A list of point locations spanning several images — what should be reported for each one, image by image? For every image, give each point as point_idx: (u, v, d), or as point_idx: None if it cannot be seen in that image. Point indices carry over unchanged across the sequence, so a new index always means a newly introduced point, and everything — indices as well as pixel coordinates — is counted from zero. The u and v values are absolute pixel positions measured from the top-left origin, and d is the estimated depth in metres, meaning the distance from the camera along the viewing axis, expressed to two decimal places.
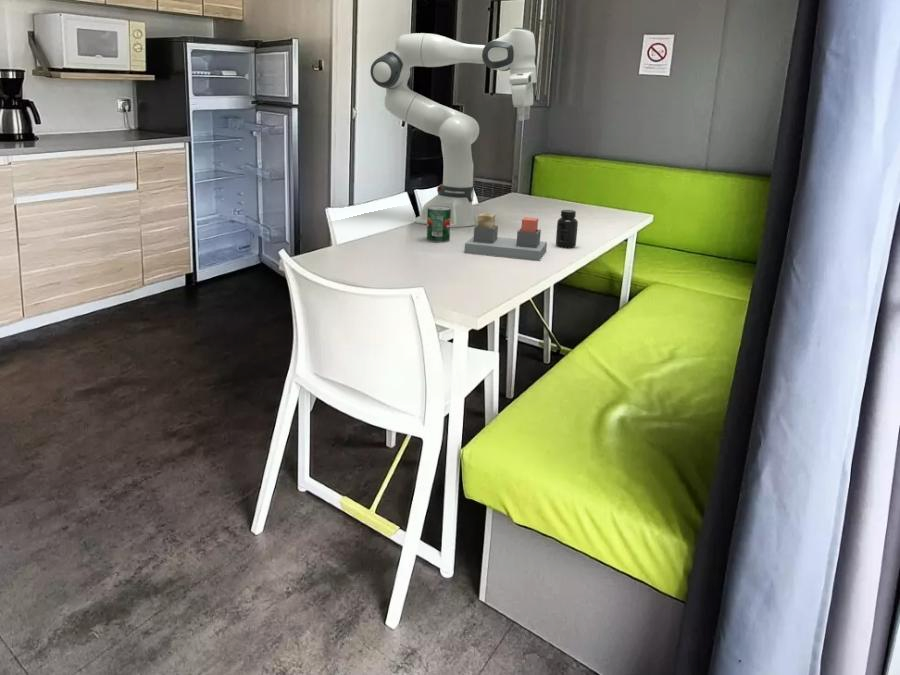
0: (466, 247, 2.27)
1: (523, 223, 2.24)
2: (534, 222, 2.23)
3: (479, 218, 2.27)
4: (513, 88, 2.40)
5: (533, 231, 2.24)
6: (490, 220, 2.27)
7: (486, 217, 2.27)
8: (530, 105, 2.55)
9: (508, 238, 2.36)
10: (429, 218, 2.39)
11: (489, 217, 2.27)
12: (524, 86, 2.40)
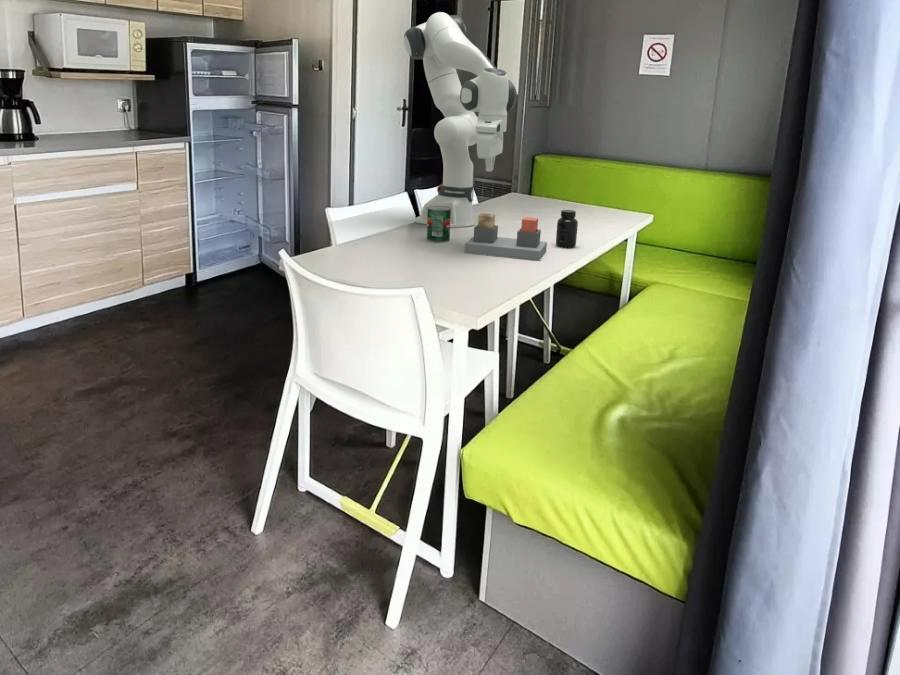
0: (466, 247, 2.27)
1: (523, 223, 2.24)
2: (534, 222, 2.23)
3: (479, 218, 2.27)
4: (479, 137, 2.12)
5: (533, 231, 2.24)
6: (490, 220, 2.27)
7: (486, 217, 2.27)
8: (498, 154, 2.27)
9: (508, 238, 2.36)
10: (429, 218, 2.39)
11: (489, 217, 2.27)
12: (491, 136, 2.11)
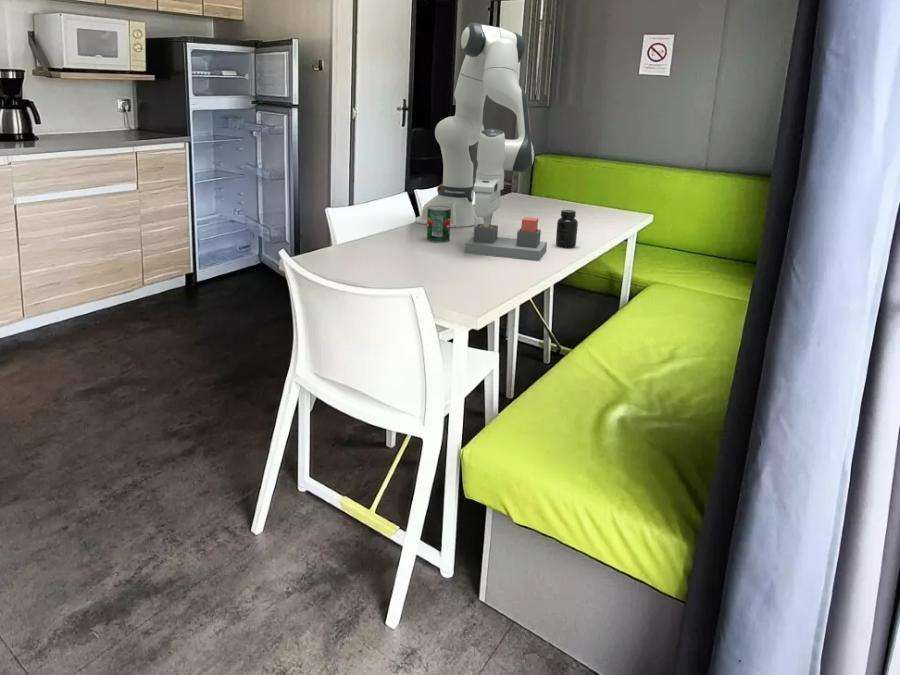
0: (466, 247, 2.27)
1: (523, 223, 2.24)
2: (534, 222, 2.23)
3: None
4: (477, 197, 2.18)
5: (533, 231, 2.24)
6: None
7: None
8: (495, 209, 2.33)
9: (508, 238, 2.36)
10: (429, 218, 2.39)
11: None
12: (489, 196, 2.17)
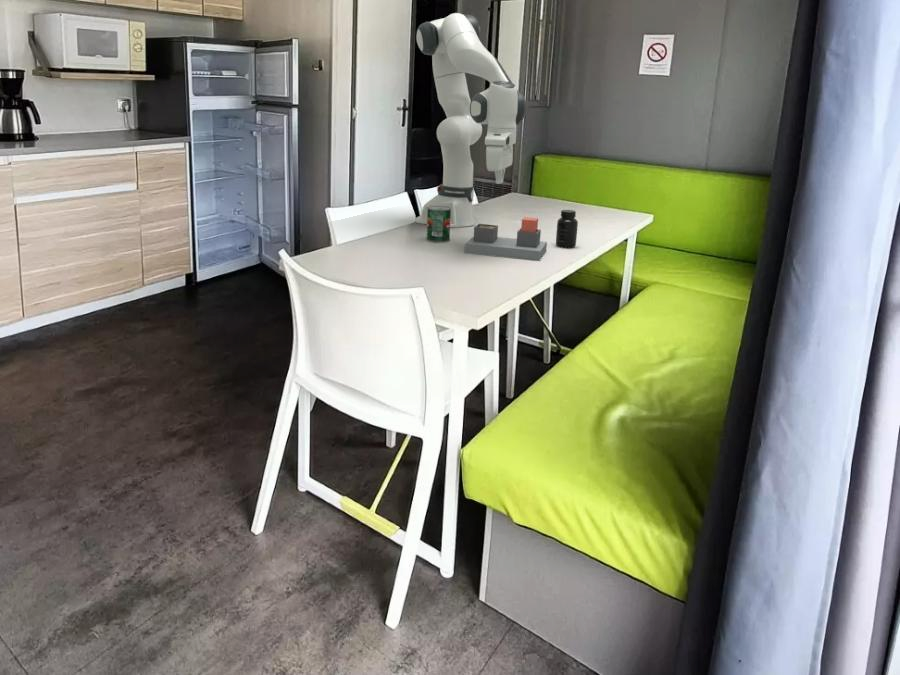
0: (466, 247, 2.27)
1: (523, 223, 2.24)
2: (534, 222, 2.23)
3: None
4: (488, 150, 2.12)
5: (533, 231, 2.24)
6: None
7: None
8: (508, 166, 2.27)
9: (508, 238, 2.36)
10: (429, 218, 2.39)
11: None
12: (500, 149, 2.11)
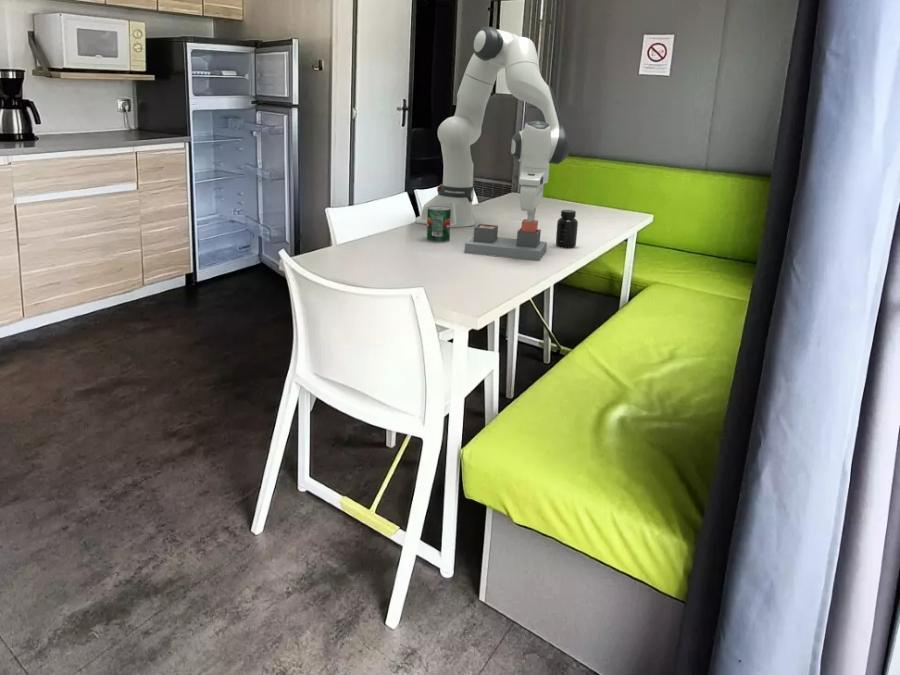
0: (466, 247, 2.27)
1: (523, 225, 2.24)
2: (534, 224, 2.23)
3: None
4: (522, 190, 2.14)
5: None
6: None
7: None
8: (539, 203, 2.28)
9: (508, 238, 2.36)
10: (429, 218, 2.39)
11: None
12: (535, 189, 2.13)
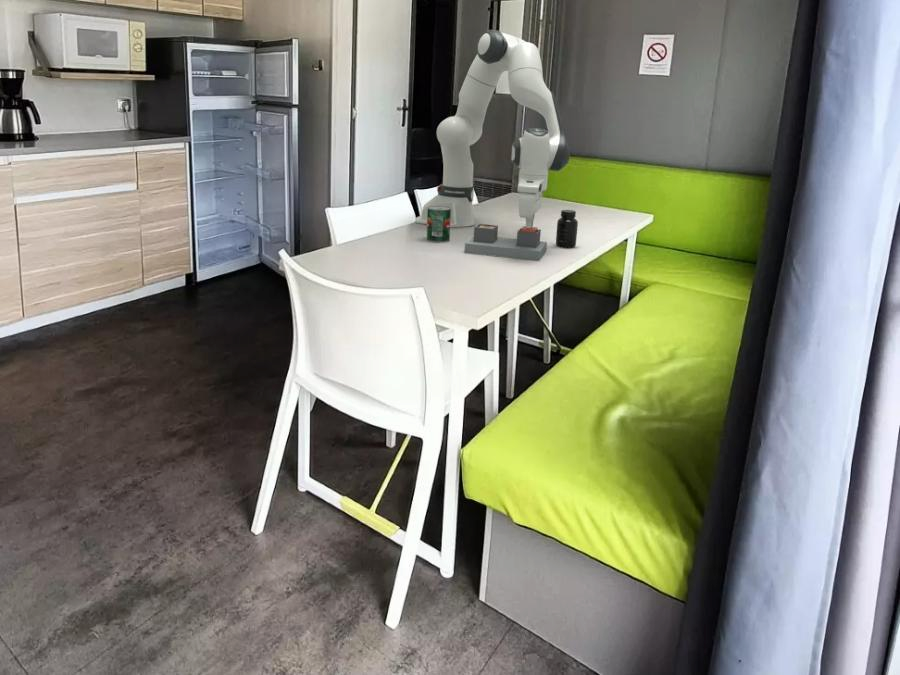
0: (466, 247, 2.27)
1: None
2: (533, 231, 2.24)
3: None
4: (521, 197, 2.14)
5: None
6: None
7: None
8: (537, 210, 2.29)
9: (508, 238, 2.36)
10: (429, 218, 2.39)
11: None
12: (533, 196, 2.14)
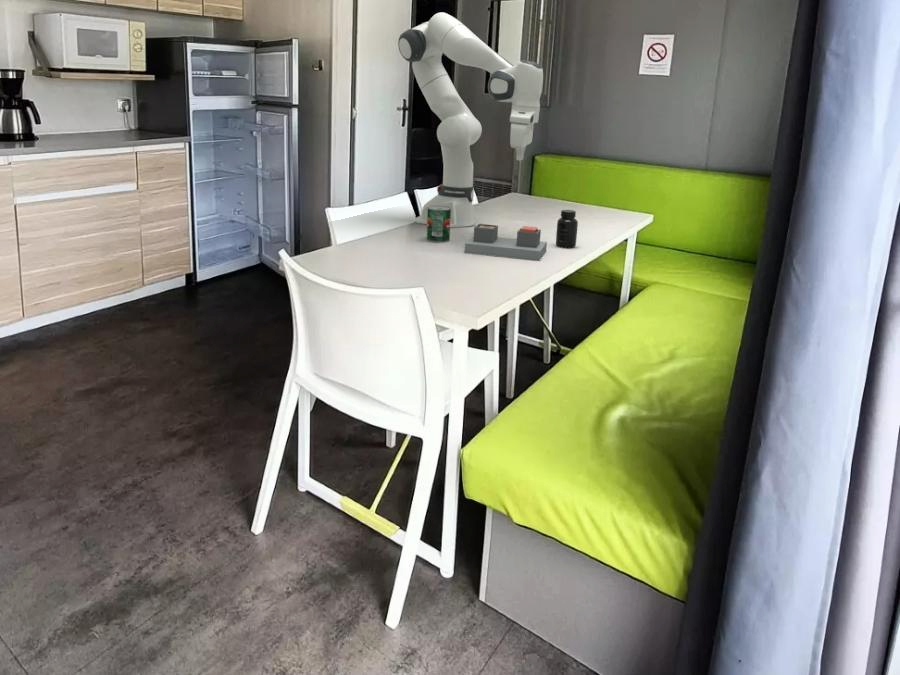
0: (466, 247, 2.27)
1: None
2: (533, 231, 2.24)
3: None
4: (513, 127, 2.20)
5: None
6: None
7: None
8: None
9: (508, 238, 2.36)
10: (429, 218, 2.39)
11: None
12: (525, 127, 2.19)
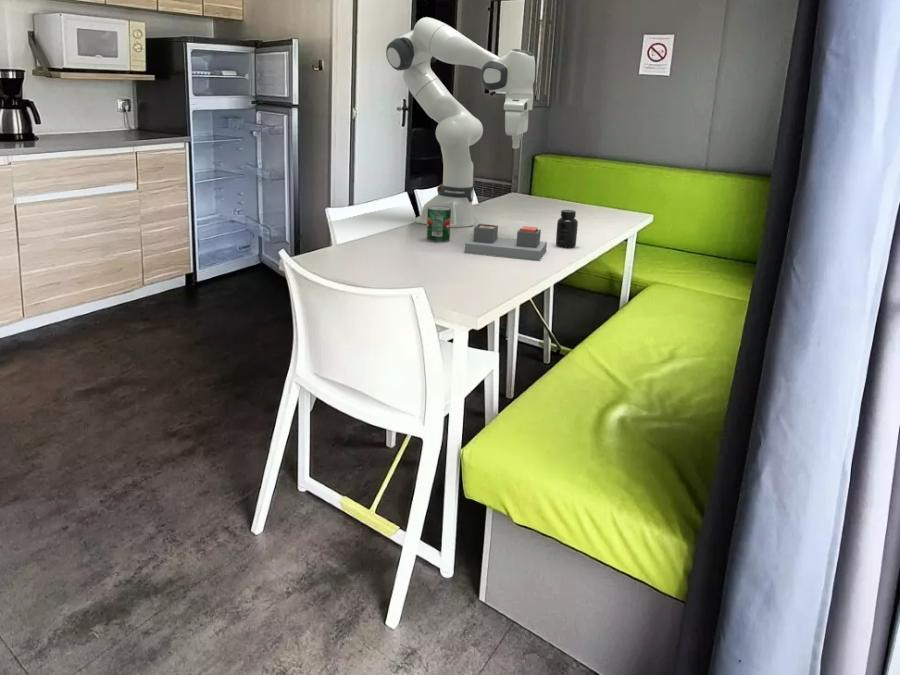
0: (466, 247, 2.27)
1: None
2: (533, 231, 2.24)
3: None
4: (507, 115, 2.22)
5: None
6: None
7: None
8: (524, 132, 2.37)
9: (508, 238, 2.36)
10: (429, 218, 2.39)
11: None
12: (519, 114, 2.22)
